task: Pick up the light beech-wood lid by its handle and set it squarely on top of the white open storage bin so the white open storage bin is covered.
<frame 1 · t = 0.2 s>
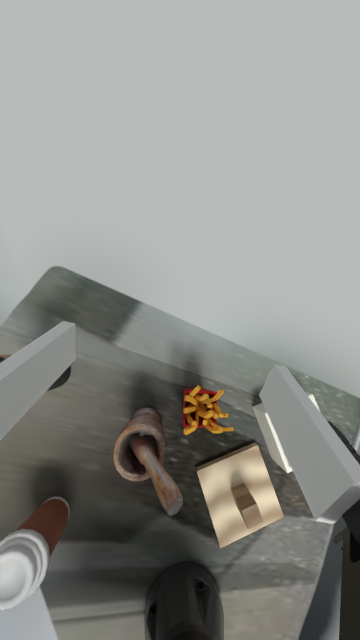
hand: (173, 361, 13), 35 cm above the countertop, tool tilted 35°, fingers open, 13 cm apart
travel mug: (55, 372, 45), on the countertop
mortar and pestle: (153, 426, 44), on the countertop
french fries: (197, 395, 46), on the countertop
coffee cup: (54, 513, 40), on the countertop
white open storage bin: (283, 422, 47), on the countertop
lid: (236, 487, 44), on the countertop
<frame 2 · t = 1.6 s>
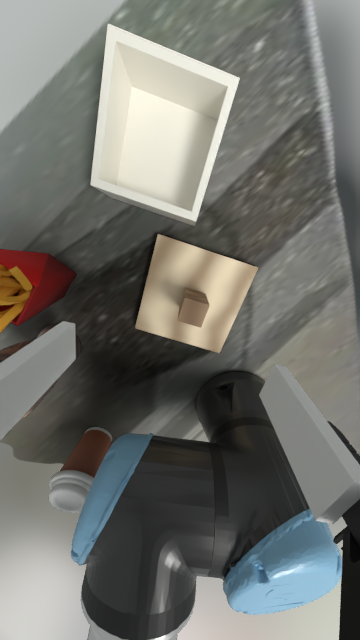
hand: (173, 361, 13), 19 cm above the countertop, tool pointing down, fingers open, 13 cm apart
mortar and pestle: (68, 337, 35), on the countertop
french fries: (55, 267, 30), on the countertop
coffee cup: (98, 436, 44), on the countertop
white open storage bin: (164, 160, 24), on the countertop
lid: (191, 296, 31), on the countertop
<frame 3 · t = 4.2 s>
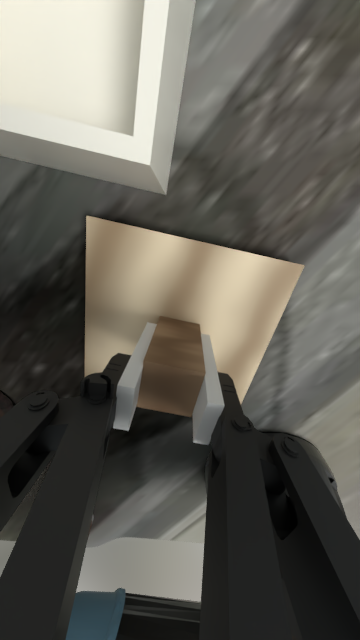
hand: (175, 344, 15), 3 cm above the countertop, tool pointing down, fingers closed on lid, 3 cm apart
white open storage bin: (81, 49, 11), on the countertop
lid: (177, 327, 18), on the countertop, touching gripper
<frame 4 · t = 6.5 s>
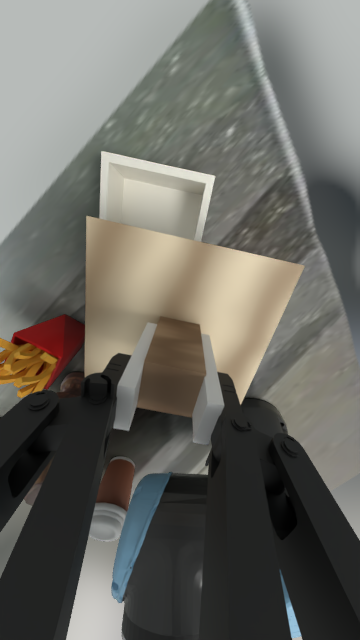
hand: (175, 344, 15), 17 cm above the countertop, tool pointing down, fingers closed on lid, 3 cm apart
mortar and pestle: (88, 381, 39), on the countertop
french fries: (72, 324, 34), on the countertop
coffee cup: (122, 464, 48), on the countertop
white open storage bin: (158, 230, 28), on the countertop
lid: (177, 327, 18), point 14 cm above the countertop, touching gripper
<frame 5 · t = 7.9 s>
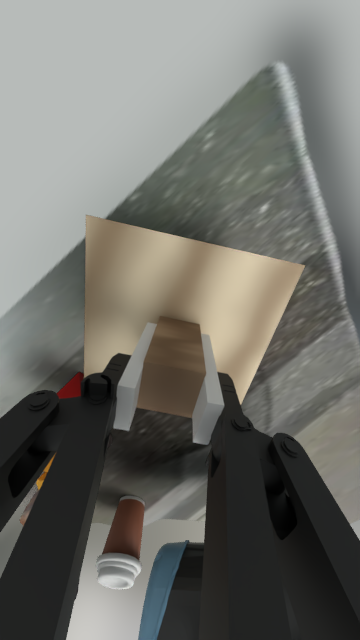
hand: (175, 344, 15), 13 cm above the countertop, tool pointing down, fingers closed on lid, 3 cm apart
french fries: (85, 380, 33), on the countertop
coffee cup: (132, 501, 48), on the countertop
lid: (177, 327, 18), point 9 cm above the countertop, touching gripper
when the fingers open (10 cm above the countertop, at t = 8.8 s): lid drops 1 cm, resting on white open storage bin.
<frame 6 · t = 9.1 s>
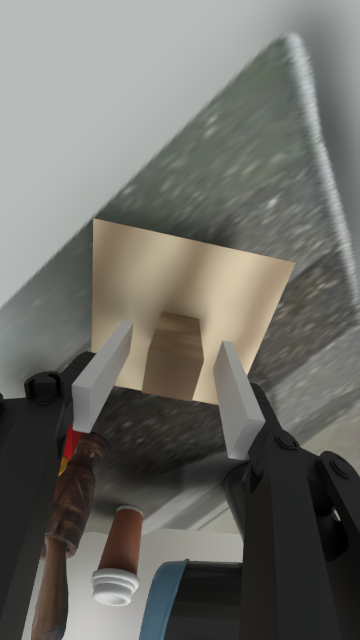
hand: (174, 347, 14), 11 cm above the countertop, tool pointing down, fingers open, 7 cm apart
mortar and pestle: (95, 439, 36), on the countertop
french fries: (79, 388, 31), on the countertop
coffee cup: (130, 511, 46), on the countertop
lid: (178, 322, 19), point 6 cm above the countertop, touching white open storage bin
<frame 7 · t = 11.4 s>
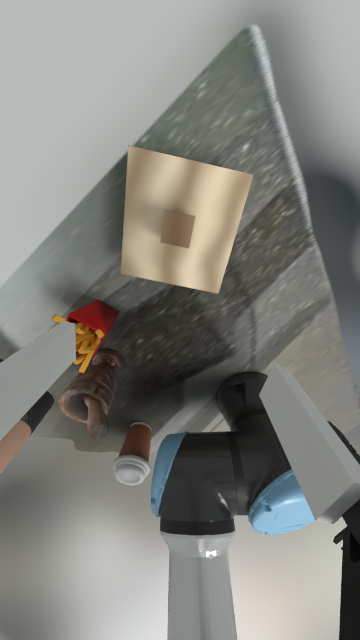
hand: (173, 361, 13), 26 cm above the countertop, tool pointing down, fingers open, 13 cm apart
travel mug: (41, 397, 52), on the countertop
mortar and pestle: (114, 357, 45), on the countertop
french fries: (103, 308, 40), on the countertop
coffee cup: (140, 428, 56), on the countertop
lid: (180, 229, 27), point 6 cm above the countertop, touching white open storage bin
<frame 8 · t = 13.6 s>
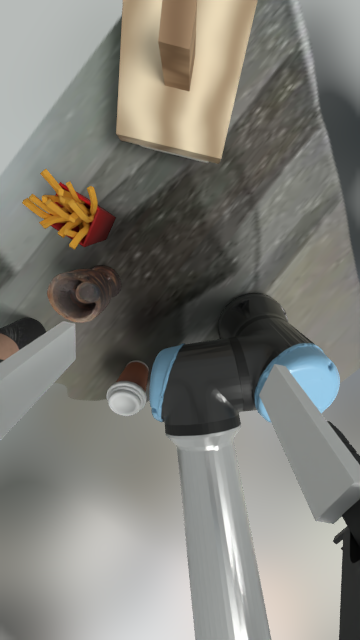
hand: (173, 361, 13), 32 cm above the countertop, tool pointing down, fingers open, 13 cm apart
travel mug: (32, 330, 49), on the countertop
mortar and pestle: (110, 277, 43), on the countertop
french fries: (99, 214, 38), on the countertop
coffee cup: (137, 369, 53), on the countertop
lid: (180, 82, 26), point 6 cm above the countertop, touching white open storage bin
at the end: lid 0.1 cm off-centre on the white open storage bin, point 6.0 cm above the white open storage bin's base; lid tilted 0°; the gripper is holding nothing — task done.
